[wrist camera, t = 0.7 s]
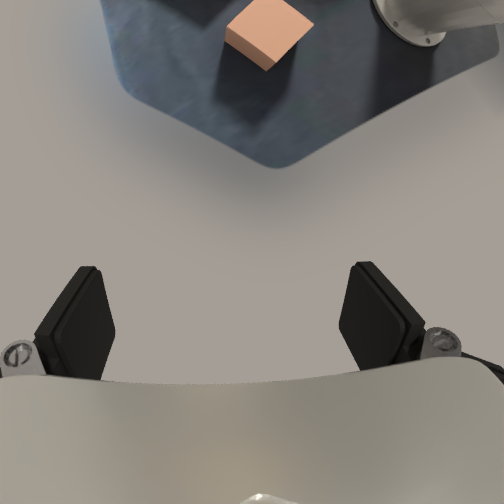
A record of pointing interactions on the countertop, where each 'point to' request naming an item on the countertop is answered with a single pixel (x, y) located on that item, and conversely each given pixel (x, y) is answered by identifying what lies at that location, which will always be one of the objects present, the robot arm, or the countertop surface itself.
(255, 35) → the cube
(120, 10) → the countertop surface
